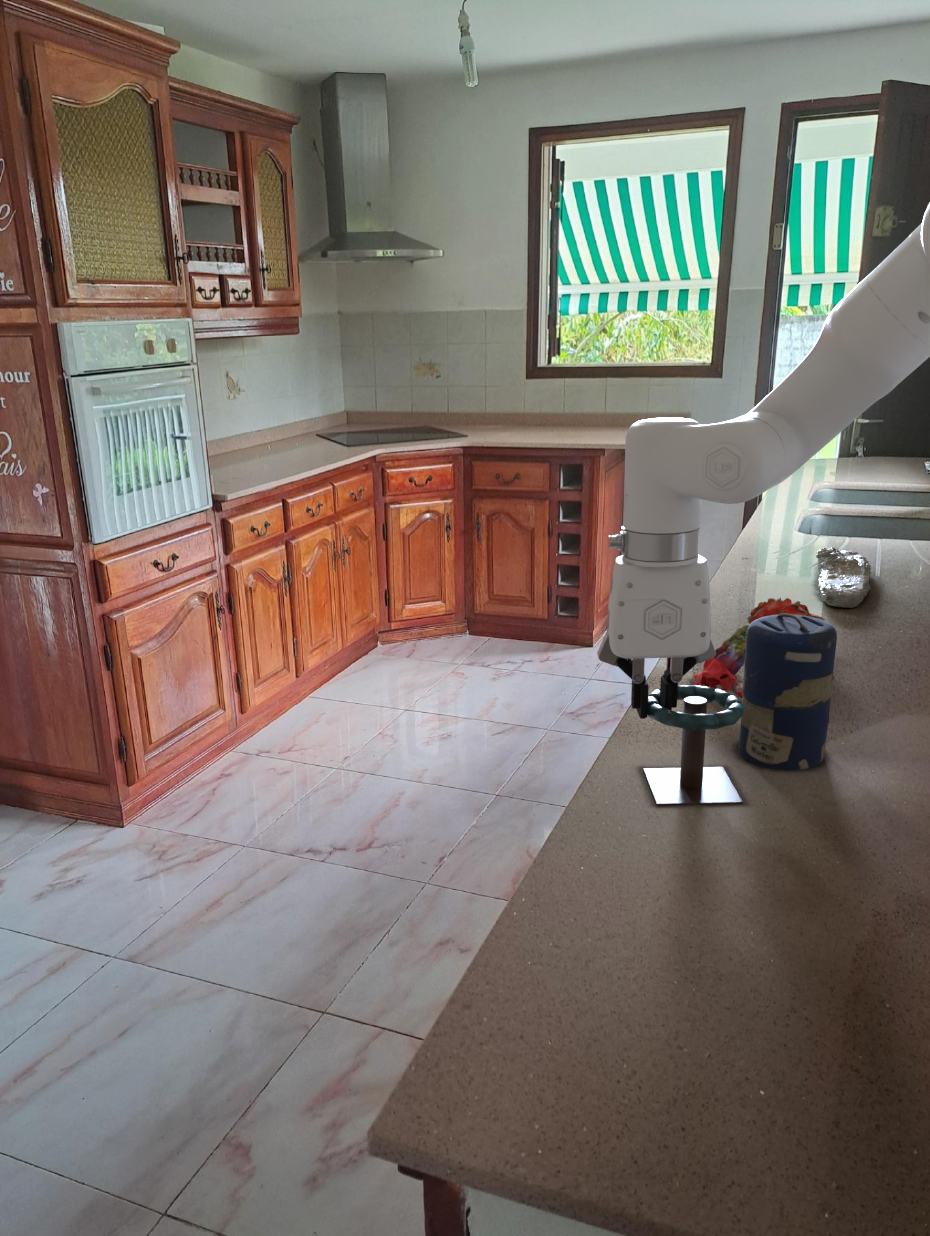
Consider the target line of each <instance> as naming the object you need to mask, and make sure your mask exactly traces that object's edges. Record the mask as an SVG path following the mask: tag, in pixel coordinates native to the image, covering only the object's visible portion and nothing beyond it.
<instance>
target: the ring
mask: <svg viewBox="0 0 930 1236" xmlns="http://www.w3.org/2000/svg"><path fill="white" fill-rule="evenodd" d="M690 696H698V697H703V698H705V699H706V700H707V703H711V704H715V705H717V706H719V707H722V708H725V709H726V710H722V711H719V712H714V713H706V714H687V713H683V712H680V711H675V710H672V711H671V710H669V709H666V708H664V707H662V706H660V688H658V689H654V690H653V691H652V692H650V693H648V715H647V717H648V718H650V719H652V720H654V721H655V722H659V723H660V724H662V725H665V726H667V727H668V726H669V727H672V728H678V729H682V728H683V729H688V730H705V731H706V730H707V731H709V730H710V731H711V730H718V729H721V728H725V727H729V726H733V725H735V724H737V723H738V721H739V720H741V716H742V715H743V714H744V711H745V709H744V706H743V705H742V701H740V699H739V698H738V697H737V695H734V694H732V693H730V692H727V691H726V690H722V689H720V688H710V686H709V687H706V686H704V685H700V686H697V685H694V684H693V685H691V684H689V685H678V695H677V701H684V699H685V698H686V697H690Z"/></svg>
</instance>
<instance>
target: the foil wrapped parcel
mask: <svg viewBox="0 0 930 1236" xmlns="http://www.w3.org/2000/svg"><path fill="white" fill-rule="evenodd" d="M815 557H816V559H817V571H818V578H817V583H816V585H817V590H818V595H820V599H821V602H822V601H823V602H824V603H825V604H827V605H828V606H832V607H837V608H845V609H854V608H857V607H858V606H859V605H860V604H861V603H862V602H863V601H864V599H865V598H866V597H867V595H868V592H869V591H870V590H871V584H869V583H870V580H871V579H870V578H871V573H872V572H871V570H872V565H871V564H870V563H869V560H867V557H865V556H863V555H862V554H861V553H859V552H857V551H854V550H847V549H846V550H845V549H839V548H836V547H833V546H832V547H830V548H826V547H822V548H821V549H819V550H817V552H816V555H815Z"/></svg>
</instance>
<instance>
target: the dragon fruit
mask: <svg viewBox="0 0 930 1236" xmlns="http://www.w3.org/2000/svg"><path fill="white" fill-rule="evenodd" d="M783 613H787V614H792V615H803V616H809V617H814V618H818V619H821V620H823V621H826V620H825V618H823V617H822V616H820V615H817V614H813V613H811V612H810V610H809V608H808V606H807V605H805V604H802V603H801V601H799V600H796V601H794V602H793V601H792V599H791V598H789V597H786V598H785V599H782V598H781V597H779V598H777V599H775V598H774V597H769V598H767V601H760V602H758V604H757V606H755V607H754V608H752V609H751V610H750V615H749V616H747V617H746V619H747V622H748V625H749V624H751V623H752V622H753V621H755V620H756V619H759V618H761V617H765V616H771V615H779V614H783Z"/></svg>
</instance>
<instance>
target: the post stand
mask: <svg viewBox="0 0 930 1236" xmlns="http://www.w3.org/2000/svg"><path fill="white" fill-rule="evenodd" d="M707 711H708V702H707V700H706V699H705V698H703V697H698V696H690V697H686V698H685V699H684V700H683V710H682V713H687V714H707ZM681 730H682V732H681V734H682V735H681V750H680V752H681V753H680V767H651V768H649V767H648V768H647V767H646V768H642V770H643V773H644V776H645V778H646V781H647V783H648V787H649V788H650V791H651V794H652V796H653V799H654V802H655V804H656V806H674V805H675V806H677V805H678V806H679V805H680V806H681V805H684V806H685V805H724V804H725V805H727V804H729V805H731V804H734V805H735V804H736V805H737V804H743V803H744V801H743V800H742V797H741V796H740V795H739V792H738V791H737V789H736V788H735V786H734V784H733V782H732V781H731V778H730V777H729V775H728V773H727V771H726V770H725V768H724V766H704V764H705V763H704V762H705V746H706V730H688V729H683V728H681Z"/></svg>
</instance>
